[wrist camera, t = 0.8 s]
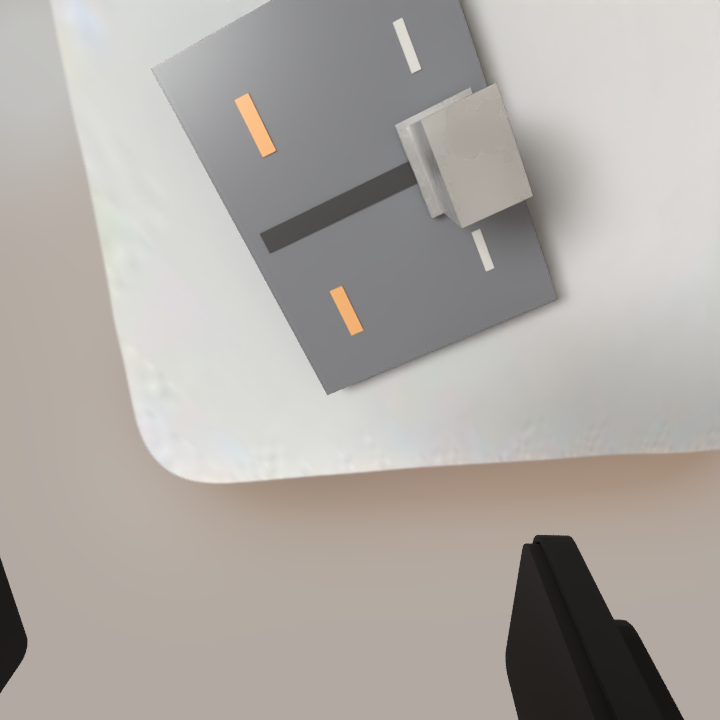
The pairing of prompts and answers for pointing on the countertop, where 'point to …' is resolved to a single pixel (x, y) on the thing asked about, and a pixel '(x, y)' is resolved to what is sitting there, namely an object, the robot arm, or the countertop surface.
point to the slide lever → (465, 156)
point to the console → (350, 177)
